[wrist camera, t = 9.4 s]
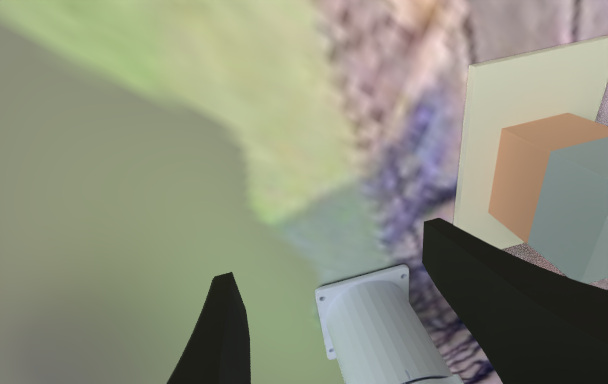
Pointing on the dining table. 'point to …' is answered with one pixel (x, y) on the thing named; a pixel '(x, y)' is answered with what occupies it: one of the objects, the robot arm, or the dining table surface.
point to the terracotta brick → (532, 165)
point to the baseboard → (519, 117)
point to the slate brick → (574, 212)
